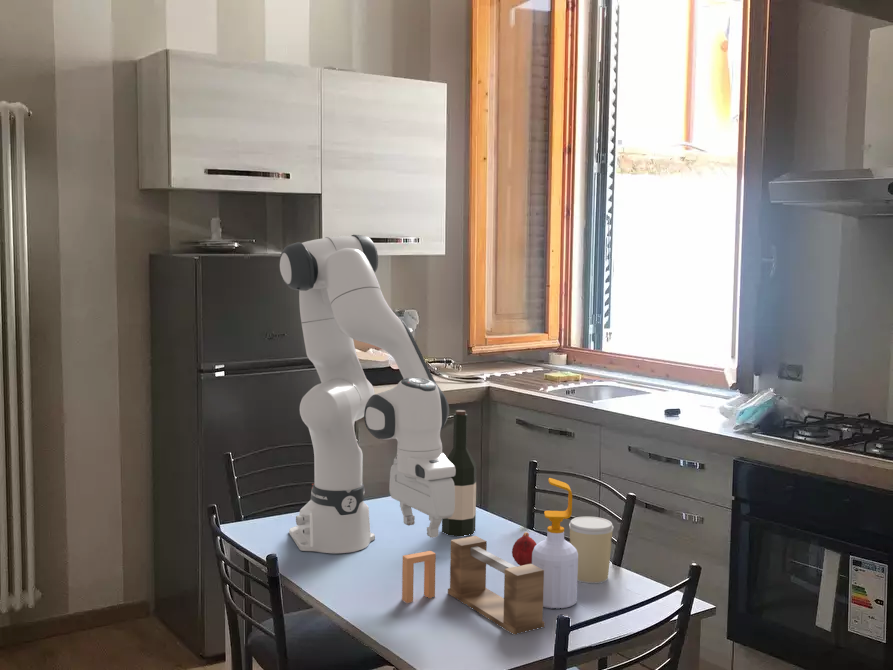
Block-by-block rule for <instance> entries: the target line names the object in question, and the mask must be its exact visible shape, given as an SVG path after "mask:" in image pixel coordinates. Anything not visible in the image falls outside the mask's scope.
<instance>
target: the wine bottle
mask: <svg viewBox="0 0 893 670" xmlns="http://www.w3.org/2000/svg"><path fill="white" fill-rule="evenodd" d="M468 415H469V414H468V413H467V411H466V410H464V409H457V410H455V413H453V437H452V439H453V440H452V450H451V452H450V453H449V454H448V456H447V459H448V460H449V461H450V462H451V463H452V464H453V465H454V466H455V469H456V474H455V476H453V477H451V478H452V479H453V481H454V486H455V509H454V513H453V515H452V517H450V518H445V519H442V521H441V533H442V532H444V533H446V534H448V535H454V536H453V537H457V536H464V535H469V534H470V536H472V535H471V534H473V533H474V534H475V532H476V518H477V517H476V514H477V511H476V509H477V508H476V506H477V472H478V471H477V463H476V461H475V459H474V457H473V455H472V454H471V453H470V450H469V449H468V420H469V419H468ZM474 531H475V532H474ZM444 533H443V534H444ZM446 534H445V535H446ZM474 534H473V535H474ZM448 535H447V536H448ZM464 537H465V536H464Z"/></svg>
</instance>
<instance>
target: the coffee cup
mask: <svg viewBox="0 0 893 670" xmlns="http://www.w3.org/2000/svg"><path fill="white" fill-rule="evenodd" d="M568 528H569V543H571V544H572V545H573V546H574V547H575V548H576V550H577V552H578V576H577V582H579V583H585V584H601V582H602V583H604V581H605V582H606V581H608V579H609V578H608V577H609V570H610V562H611V554H612V553H611V552H612V543H613V531H614V525H613V523H612V521H610V520H609V519H607V518H602V517H598V516H591V515H590V516H577V517H575V518H572V519H571V520H570V521H569V524H568Z"/></svg>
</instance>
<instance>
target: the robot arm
mask: <svg viewBox="0 0 893 670" xmlns="http://www.w3.org/2000/svg"><path fill="white" fill-rule="evenodd" d="M378 268H379V253H378V250H377V247H376V245H375V243H374V241H373V240H372V239H371V238H370V237H369V236H366V235H363V234H361V235H360V234H351V235H335V236H333V235H332V236H325V237H323V238H317V239H312V240H307V241H304V242H300V241H297V242H295V243H290V244H288V245H287V246H285V247H284V248H283V249H282V252H281V253H280V257H279V271H280V275H281V277H282V281H283V282H284V284H285V285H286V286H287V287H288V288H289V289H291V290H294V291H299V293H298V295H299V299H298V300H299V301H298V302H299V313H300V314H299V315H300V322H301V328H302V329H301V330H302V334H303V335H302V336H303V341H304V347H305V354H306V356H307V358H308V360H309V361H310V362H311V363H312V364H313V366H314V368H315V369H316V372H317V375H318V378H319V381H320V382H321V383H318V384H316V385H314V386H312V388H310V389H309V390H308V391H307V392H306V393H305V394H304V395H303V396H302V398H301V401H300V403H299V416H300V417H301V420H302V422H303V423H304V424H305V426H306V427H307V428H308V431H309V435H310V439H311V444H312V447H313V454H314V455H313V456H314V457H313V459H314V460H313V461H314V471H313V472H314V483H311V486H312V487H311V492H310V500H309V501H308V502H307V503H306V504H305V505H304V506H302V508H300V510H299V512H298V513H299V514H298V515H296V516H295V522H296V523H295V524H296V525H295V526H293V527H290V528H289V530H288V531H289V532H288V533H289V535H290V536H291V538H292V540H293V541H294V543H295V544H296V546H297V547H298V549H299V550H300V551H303V552H318V553H324V554H345V553H346V554H347V553H354V552H358V551H360V550H361V551H362V550H363V549H365V548H367V547H368V546H369V545H370V543H371V542H372V541H374V540H375V539H376V535H375V533H373V532H371V523H370V510H369V508H370V507H369V506H368V504H367V503H365V502H364V500H365V494H366V493H365V485H364V483H363V456H364V455H363V450H362V448H361V447H360V446H359V444H358V440H357V437H356V432H355V422H357V421H358V420H361V419H362V418H364V419H363V420H364V425H365V427H366V429H367V431H368V432H369V433H370V434H371V435H372V436H373V437H374V438H376V439H378V440H393V439H395V440H396V441H397V445H396V450H397V451H396V456H395V457H394V458H393V464H392V465H391V466H390V470H389V471H390V472H389V486H388V487H389V489H388V491H389V492H388V493H389V495H390V498H391V499H393V500H395V501H397V502H399V507H400V510H401V513H402V517H403V525H406V526H408V527H409V526H414V525H415V523H416V522H415V515H414V514H413V510H412V509H414V510H417V511H419V513H420V512H421V513H423V514H425V515H427V516H428V521H430V522H429V526H427V527H426V536H428V537H430V538H433V539H434V538H438V536H439V528H440V526H441V525H442V519H445V518H450V517H452V515H453V513H454V509H455V486H454V481H453V479H452V478H451V477H453V476H455V474H456V469H455V466H454V465H453V464H452V463H451V462H450V461H449V460H448V459H447V458H448V456H446V454H445V453H444V452H443V443H442V439H441V430H443V428H444V427H445V426H446V424H447V421H448V419H449V414H450V405H449V401H448V399H447V397H446V395H445V393H444V392H443V391H442V390H441V388H440V387H439V385H438V383H437V382H436V381H435V379H434V377H433V375H432V373H431V370H430V369H429V367H428V365H427V363H426V360H425V359H424V356H423V354H422V352H421V350H420V348H419V345H418V343H417V342H416V340H415V338H414V336H413V334H412V332H411V330H410V328H409V327H408V325H407V323H406V322H405V321H404V320H403V319H401V318H400V317H398V315H397V314H396V313H395V312H394V311H393V310H392V308H391V307H390V306H389V304H388V302H387V300H386V299H385V296H384V294H383V292H382V289H381V285H380V283H379V281H378V278H377V275H376V271H377V270H378ZM354 340H355V341H357V342H362V343H364V344H369V345H372V346H374V347H377V348H379V349H381V350H383V351H385V352H386V353H388V354H389V355H390V356H391V357H392V358H393V359H394V361H395V363H396V366H397V368H398V369H399V372H400V374H401V376H402V378H403V379H401V380H400V381H399V382H398V383H397V385H396V386H394V387H393V388H391V389H388V390H385V391H381V392H378V393H375V392H376V391H375V389H374V386H373V384H372V383H371V382H370V381H369V380H368V379H367V376H366V375H365V372H364V370H363V367H362V364H361V362H360V360H359V357H358V354H357V351H356V347H355V341H354Z"/></svg>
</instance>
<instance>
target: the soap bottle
mask: <svg viewBox="0 0 893 670" xmlns="http://www.w3.org/2000/svg"><path fill="white" fill-rule="evenodd" d="M547 481H548V483H549V485H551V486H553V487H557V488H559V489H562V490H565V491H567V492H568V494H567V495H568V496H567V497H568V498H567V499H568V500H567V508H566V509H565V510H545V511H544V512H543V515H544V517H545V519H548V521H550V522H551V525H549V526H547V529H546V531H547V533H546V534H547V536H546V538H545V539H543V540H541V541H539V542H538V543H536V544H537V545H536V546H535V547H534V549H533V552H532V564H533V565H535V566H537V567H539V568H541V569H543V570H544V585H543V608H547V609H552V608H556V609H557V610H560V608H561V609H566V608H569V607H572V606H575V604H577V600H578V598H577V597H578V581H577V576H578V552H577V550H576V548H575V547H574V546H573V545H572V544H571V543H570V541H567V540H566V539H565V527H563V526H561V523H562V522H564V520H567V519H569V518H571V517H572V514H573V512H572V511H573V492H572V490H571V486H570V485H569V484H568V483H566V482H564V481H561V480H558V479H555V478H553V477H549V478H548V479H547Z"/></svg>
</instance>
